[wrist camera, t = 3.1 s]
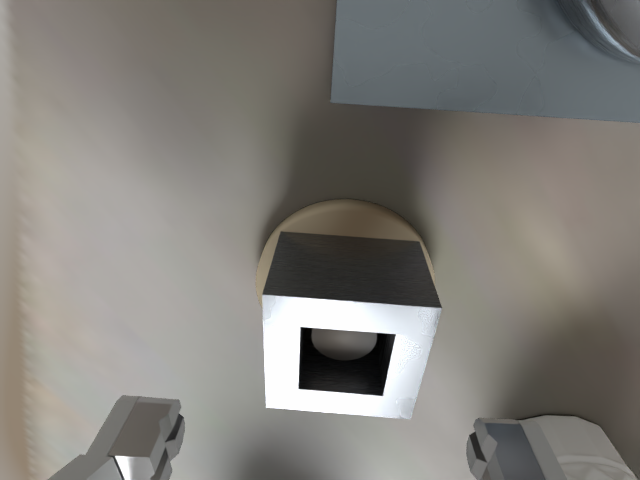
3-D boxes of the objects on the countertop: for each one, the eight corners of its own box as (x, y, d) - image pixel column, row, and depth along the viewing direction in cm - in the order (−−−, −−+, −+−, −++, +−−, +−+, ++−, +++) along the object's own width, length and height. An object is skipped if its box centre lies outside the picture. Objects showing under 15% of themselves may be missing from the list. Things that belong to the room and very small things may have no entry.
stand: (447, 205, 14) (476, 258, 11) (413, 342, 17) (427, 410, 14) (257, 192, 14) (234, 241, 11) (262, 331, 18) (245, 396, 15)
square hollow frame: (419, 241, 14) (442, 308, 10) (397, 341, 16) (410, 419, 13) (280, 231, 14) (261, 294, 11) (280, 332, 16) (266, 407, 13)
